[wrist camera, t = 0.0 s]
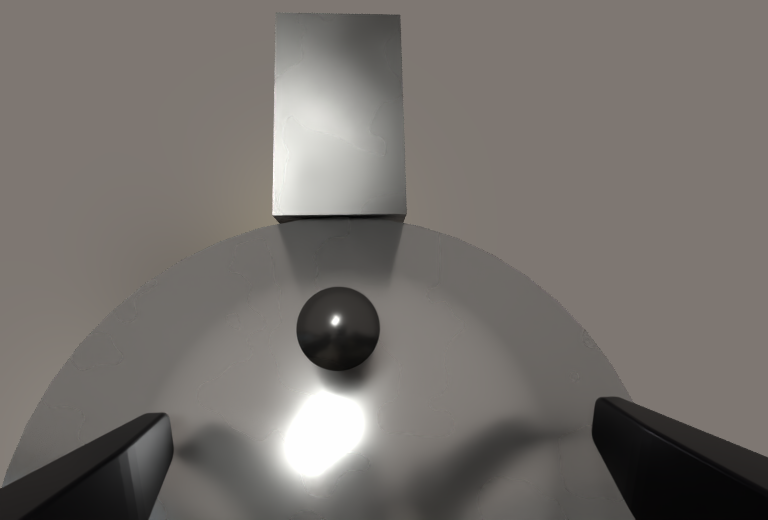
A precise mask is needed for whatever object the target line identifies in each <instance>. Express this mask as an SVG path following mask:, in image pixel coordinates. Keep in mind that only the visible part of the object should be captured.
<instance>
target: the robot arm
mask: <svg viewBox="0 0 768 520" xmlns="http://www.w3.org/2000/svg"><path fill="white" fill-rule="evenodd" d="M591 432H592V439H593V442H594V444H595V446H596V448H597V450H598V452H599V454H600V456H601V457H602V459H603V461H604V463H605V465H606V467H607V469H608V471H609V473H610V475H611V476H612V478H613V480H614V482H615V484H616V486H617V488H618V490H619V492H620V494H621V495H622V497H623V499H624V501H625V503H626V505H627V506H628V508H629V510H630V512H631V513H632V515H633V517H634V518H635V520H768V457H766V456H763V455H761V454H758V453H756V452H753V451H751V450H748V449H746V448H743V447H741V446H739V445H736V444H733V443H731V442H729V441H726V440H724V439H721V438H719V437H716V436H714V435H711V434H709V433H706V432H704V431H701V430H699V429H697V428H694V427H692V426H689V425H687V424H684V423H682V422H679V421H677V420H674V419H672V418H669V417H667V416H664V415H662V414H660V413H657V412H655V411H652V410H650V409H647V408H645V407H642V406H640V405H637V404H635V403H632V402H630V401H628V400H625V399H623V398H620V397H616V396H610V397H599V398H598V399H597V400H596V402H595V406H594V414H593V422H592V431H591ZM173 454H174V445H173V438H172V430H171V423H170V418H169V416H168V414H166V413H164V412H158V413H145V414H143V415H141V416H139V417H137V418H135V419H133V420H131V421H129V422H127V423H125V424H124V425H122V426H120V427H118V428H116V429H114V430H112V431H110V432H108V433H106V434H104V435H102V436H100V437H99V438H97V439H95V440H93V441H91V442H89V443H87V444H85V445H83V446H81V447H79V448H77V449H75V450H74V451H72V452H70V453H68V454H66V455H64V456H62V457H60V458H58V459H56V460H54V461H52V462H50V463H49V464H47V465H45V466H43V467H41V468H39V469H37V470H35V471H33V472H31V473H29V474H27V475H25V476H24V477H22V478H20V479H18V480H16V481H14V482H12V483H10V484H8V485H6V486H4V487H2V488H0V520H149V517H150V515H151V512H152V510H153V507H154V505H155V502H156V500H157V497H158V495H159V492H160V490H161V487H162V485H163V482H164V479H165V477H166V474H167V472H168V469H169V467H170V464H171V462H172V459H173Z"/></svg>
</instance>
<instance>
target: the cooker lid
mask: <svg viewBox="0 0 768 520" xmlns="http://www.w3.org/2000/svg"><path fill="white" fill-rule="evenodd" d="M275 34H276V35H275V94H274V156H273V160H274V161H273V216H274V218H275V219H276V220H277V221H278V222H279V223H280V224H277V225H272V226H267V227H262V228H258V229H255V230H253V231H250V232H247V233H244V234H241V235H238V236H235V237H232V238H229V239H226V240H223V241H220V242H218V243H216V244H214V245H212V246H210V247H208V248H205V249H203V250H201V251H199V252H197V253H195V254H193V255H191V256H189V257H187V258H185V259H183V260H181V261H179V262H178V263H176V264H175V265H173V266H172V267H170V268H169V269H167V270H165V271H164V272H162V273H161V274H159V275H158V276H156V277H154V278H153V279H151V280H150V281H148V282H147V283H145V284H144V285H143V286H141V287H140V288H139V289H138V290H137V291H136V292H134V293H133V294H132V295H131V296H129V297H128V298H127V299H126V300H125V301H123V302H122V303H121V304H120V305H119V306H117V307H116V308H115V309H114V310H113V311H111V312H110V313H109V314H108V315H107V316H106V317H105V318H104V320H103V321H102V322H101V323H100V324H99V325H98V326H97V327H96V328H95V329H94V330H93V331H92V332H91V333H90V334H89V335H88V336H87V337H86V338H85V339H84V340H83V342H82V343H81V344H80V345H79V346H78V347H77V349H76V350H75V351H74V353H73V354H72V355H71V357H70V358H69V359H68V361H67V362H66V363H65V365H64V366H63V367H62V369H61V370H60V371H59V373H58V374H57V376H56V377H55V378H54V379H53V381H52V382H51V384H50V385H49V387H48V389H47V390H46V392H45V394H44V396H43V397H42V399H41V401H40V402H39V404H38V406H37V407H36V409H35V411H34V413H33V414H32V416H31V418H30V420H29V421H28V423H27V425H26V427H25V429H24V432H23V434H22V436H21V439H20V441H19V443H18V446H17V448H16V450H15V453H14V455H13V457H12V459H11V462H10V464H9V467H8V469H7V472H6V475H5V478H4V482H3V485H2V487H4V486H6V485H8V484H10V483H12V482H14V481H16V480H18V479H20V478H22V477H24V476H25V475H27V474H29V473H31V472H33V471H35V470H37V469H39V468H41V467H43V466H45V465H47V464H49V463H50V462H52V461H54V460H56V459H58V458H60V457H62V456H64V455H66V454H68V453H70V452H72V451H74V450H75V449H77V448H79V447H81V446H83V445H85V444H87V443H89V442H91V441H93V440H95V439H97V438H99V437H100V436H102V435H104V434H106V433H108V432H110V431H112V430H114V429H116V428H118V427H120V426H122V425H124V424H125V423H127V422H129V421H131V420H133V419H135V418H137V417H139V416H141V415H143V414H145V413H158V412H164V413H166V414H168V416H169V418H170V423H171V430H172V438H173V445H174V454H173V459H172V462H171V464H170V467H169V469H168V472H167V474H166V477H165V479H164V482H163V485H162V487H161V490H160V492H159V495H158V497H157V500H156V502H155V505H154V507H153V510H152V512H151V515H150V517H149V520H635V518H634V517H633V515H632V513H631V512H630V510H629V508H628V506H627V505H626V503H625V501H624V499H623V497H622V495H621V494H620V492H619V490H618V488H617V486H616V484H615V482H614V480H613V478H612V476H611V475H610V473H609V471H608V469H607V467H606V465H605V463H604V461H603V459H602V457H601V456H600V454H599V452H598V450H597V448H596V446H595V444H594V442H593V439H592V432H591V431H592V422H593V414H594V406H595V402H596V400H597V399H598V398H599V397H610V396H616V397H620V398H623V399H625V400H628V401H630V402H632V403H634V402H633V401H632V399H631V397H630V396H629V394H628V392H627V390H626V388H625V387H624V385H623V383H622V382H621V380H620V378H619V376H618V374H617V373H616V371H615V369H614V368H613V366H612V364H611V363H610V362H609V360H608V359H607V358H606V356H605V355H604V354H603V352H602V351H601V350H600V348H599V347H598V346H597V344H596V343H595V342H594V340H593V339H592V338H591V336H590V335H589V334H588V332H587V331H586V330H585V329H584V328H583V327H582V326H581V325H580V324H579V323H578V322H577V321H576V320H575V319H574V317H573V316H571V314H570V313H569V312H568V311H567V310H566V309H565V308H564V307H563V306H562V305H561V304H560V303H559V302H558V301H557V300H556V299H554V298H553V297H552V296H551V295H550V294H548V293H547V292H546V291H545V290H543V289H542V288H541V287H540V286H539V285H537V284H536V283H535V282H534V281H532V280H531V279H530V278H529V277H528V276H526V275H525V274H523V273H521V272H520V271H518V270H517V269H515V268H513V267H512V266H510V265H509V264H507V263H505V262H504V261H502V260H501V259H499V258H497V257H496V256H494V255H493V254H490V253H488V252H486V251H484V250H482V249H479V248H477V247H475V246H473V245H471V244H469V243H466V242H465V241H462V240H460V239H458V238H455V237H452V236H449V235H446V234H443V233H440V232H436V231H433V230H430V229H427V228H424V227H421V226H416V225H411V224H405V223H403V222H404V219H405V216H406V214H407V209H406V180H405V179H406V178H405V148H404V117H403V86H402V57H401V24H400V15H383V14H324V13H322V14H321V13H319V14H318V13H276V32H275Z"/></svg>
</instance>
